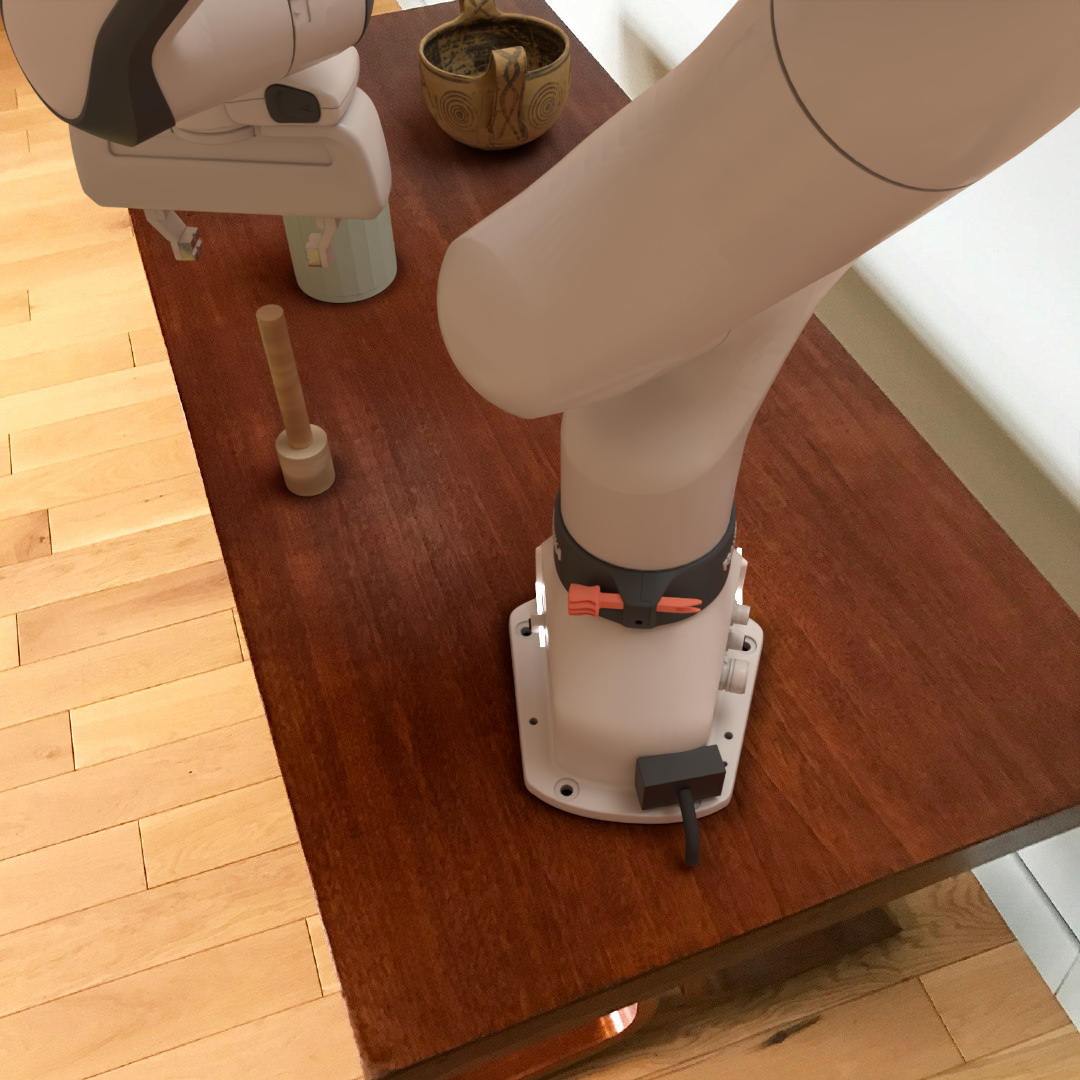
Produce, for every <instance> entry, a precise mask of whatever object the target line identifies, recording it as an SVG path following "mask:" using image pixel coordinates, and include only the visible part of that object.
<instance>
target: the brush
mask: <svg viewBox="0 0 1080 1080" xmlns="http://www.w3.org/2000/svg"><path fill="white" fill-rule="evenodd" d="M255 318H256V322H257V325H258V330H259V334H260V337H261V341H262V345H263V348H264V353H265V356H266V360H267V364H268V369H269V371H270V372H269V373H270V376H271V379H272V384H273V387H274V391H275V395H276V398H277V403H278V407H279V411H280V414H281V418H282V422H283V426H284V429H283V430H282V431H281V432H280V433H279V434H278V436H277V438H276V439H275V443H274V444H275V445H274V446H275V450H276V454H277V458H278V461H279V464H280V468H281V472H282V475H283V479H284V483H285V486H286V488H287V489H288V491H290V492H291V493H292V494H294V495H296V496H300V497H314V496H317V495H320V494H322V493H324V492H326V491H327V490H328V489H330V488H331V487H332V485H333V484H334V482H335V480H336V471H335V467H334V463H333V459H332V453H331V449H330V445H329V440H328V436H327V433H326V431H325V430H324V429H323V428H322V427H320V426H318V425H316V424H314V423H313V424H312V423H310V418H309V414H308V410H307V406H306V401H305V397H304V392H303V389H302V383H301V380H300V376H299V372H298V367H297V363H296V359H295V356H294V351H293V346H292V341H291V337H290V334H289V328H288V325H287V321H286V316H285V312H284V309H283V307H282V306H280V305H277V304H275V303H274V304H266V305H263V306H262V305H261V306H260V307H259V308H258V309H257V310H256V312H255Z"/></svg>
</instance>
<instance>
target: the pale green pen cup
mask: <svg viewBox="0 0 1080 1080" xmlns="http://www.w3.org/2000/svg"><path fill="white" fill-rule="evenodd" d="M281 217H282V221H283V225H284V226H283V227H284V230H285V234H286V239H287V244H288V250H289V253H290V254H289V255H290V258H291V263H292V267H293V271H294V276H295V279H296V283H297V286H298V287H299V289H301V291H302V292H303V293H304V294H306V295H307V296H309V297H310V298H312V299H315V300H317V301H321V302H325V303H333V304H348V303H355V302H360V301H363V300H367V299H369V298H372V297H375V296H376V295H378V294H380V293H381V292H383V291H384V290H386V289H387V288H388V287H389V286H390V285H391V284H392V283H393V282H394V280H395V278H396V275H397V271H398V267H397V256H396V250H395V249H396V248H395V241H394V233H393V232H394V231H393V226H392V218H391V210H390V204H389V200H388V201H387V203H386V205H385V207H384V208H383V210H382V211H381V212H380V214H379V215H378V216H377V217H376V218H375V219H372V220H363V219H344V218H341V220H340V223H339V226H338V228H337V231H336V233H335V235H334V237H333V239H332V242H333V247H334V259H333V262H332V265H331V268H323V267H310V266H309V265H308V259H309V258H308V257H307V256H306V251H305V246H306V244H307V242H308V241H309V239H308V238H309V236H310V234H311V233H322V232H323V230H324V228H318V227H317V226H316V222H315V217H303V216H282V215H281Z"/></svg>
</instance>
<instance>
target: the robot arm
mask: <svg viewBox="0 0 1080 1080" xmlns="http://www.w3.org/2000/svg"><path fill="white" fill-rule="evenodd" d="M374 3H375V0H0V16H1V21H2V25H3V28H4V31H5V34H6V37H7V41H8V43H9V46H10V48H11V51H12V53H13V55H14V57H15V60H16V61H17V64H18V67H19V68H20V70H21V72H22V74H23V75H24V77H25V79H26V81H27V83H28V84H29V85H30V87H31V88H32V90H33V91H34V93H35V94H36V96H37V97H38V99H39V100H40V101H41V102H42V104H43V105H44V106H45V107H46V108H47V109H48V110H49V111H50V112H51V114H53V115H54V116H55V117H57V118H58V119H59V120H61V121H62V122H64V123H66V124H68V133H69V141H70V146H71V152H72V156H73V161H74V164H75V165H74V166H75V170H76V173H77V177H78V179H79V184H80V187H81V189H82V191H83V193H84V194H85V195H86V197H88V198H89V199H90V200H91V201H93V203H95V204H96V205H97V206H99V207H102V208H118V209H139V210H141V209H142V210H143V213H144V217H145V220H146V221H147V222H148V223H149V224H150V225H151V226H152V227H153V228H154V229H155V230H156V231H157V232H158V233H159V234H160V235H161V236H162V237H163V238H164V239H165V240H166V241H168V242H169V243H170V246H171V249H172V253H173V255H174V258H175V259H174V260H176V261H186V262H187V261H188V262H198V261H199V260H200V256H201V255H202V254H203V250H204V246H203V245H204V244H203V241H202V240H201V238H200V236H201V233H200V230H199V227H197V226H187V225H186V224H185V223H184V221H183V220H182V219H181V218H180V216H178V214H177V213H176V212H175V211H181V212H199V213H200V212H201V213H203V212H204V213H221V214H241V215H242V214H243V215H244V214H245V215H261V216H262V215H264V216H281V217H282V216H303V217H315V222H316V226H317V227H318V228H324V230H323V232H322V233H311V234H310V236H309V238H308V239H309V241H308V242H307V244H306V246H305V251H306V256H307V257H308V258H309V259H308V265H309V266H310V267H323V268H331V265H332V262H333V259H334V247H333V242H332V239H333V237H334V235H335V233H336V231H337V228H338V226H339V223H340V220H341V218H344V219H363V220H372V219H375V218H376V217H377V216H378V215H379V214H380V212H381V211H382V210H383V208H384V207H385V205H386V203H387V201H388V202H389V197H390V194H391V190H392V184H393V183H392V182H393V176H392V167H391V161H390V156H389V151H388V147H387V143H386V138H385V135H384V130H383V126H382V123H381V119H380V116H379V113H378V111H377V107H376V106H375V104H374V102H373V100H372V99H371V98H370V96H369V95H368V94H367V92H365V91H364V90H363V89H361V88H360V87H359V86H358V83H359V78H360V71H361V61H360V55H359V52H358V50H357V48H356V47H355V46H356V45H358V43H360V42H361V40H362V39H363V37H364V35H365V33H366V31H367V29H368V26H369V24H370V20H371V19H372V18H371V17H372V13H373V11H374V10H373V9H374ZM1079 109H1080V0H737V1H736V3H734V5H733V6H732V7H731V8H730V9H729V10H728V12H727V13H726V14H724V16H723V17H722V19H721V20H720V21H719V22H718V23H717V24H716V26H715V27H714V28H713V29H712V30H711V32H710V33H708V35H707V36H706V37H705V38H704V39H703V40H702V42H701V43H700V44H699V45H698V46H697V47H696V48H694V49H693V50H692V52H690V53H689V54H688V55H687V56H686V57H685V58H683V60H681V62H680V63H679V64H677V65H676V66H675V67H674V68H673V69H671V70H669V72H668V73H666V75H663V77H661V78H660V79H658V80H657V81H656V82H655V83H654V84H652V85H651V86H649V87H648V88H647V89H646V90H644V91H643V92H641V94H639V95H638V96H637V97H635V98H634V99H632V100H631V101H630V102H628V104H626V105H625V106H624V107H622V108H621V109H620V110H618V111H617V112H616V113H615V114H614V115H612V116H611V117H610V118H608V119H607V120H606V121H605V122H603V124H602V125H600V126H599V127H598V128H597V129H595V130H594V131H592V133H590V134H589V135H588V136H587V137H586V138H584V139H583V140H582V141H581V142H580V143H578V144H577V145H576V146H575V147H574V148H573V149H572V150H570V151H569V152H568V153H567V154H566V155H564V157H562V159H560V160H559V161H558V162H556V164H554V165H553V166H552V167H551V168H550V169H548V170H547V171H546V172H544V173H543V174H542V175H540V177H539V178H537V179H536V180H535V181H533V183H531V184H530V185H529V186H527V187H526V188H525V189H524V190H523V191H521V192H519V194H517V195H515V196H514V197H513V198H511V199H510V200H509V201H507V202H505V203H504V204H503V205H501V206H500V207H498V208H497V209H496V210H495V211H493V212H491V213H490V214H489V215H487V216H486V217H484V218H483V219H482V220H480V221H478V222H477V223H476V224H474V225H473V226H471V227H470V228H469V229H468V230H466V231H465V232H463V233H462V234H461V235H459V236H458V237H456V238H454V240H453V241H451V243H450V244H449V245H448V247H447V249H446V251H445V253H444V256H443V260H442V263H441V266H440V270H439V276H438V280H437V287H436V311H437V312H436V313H437V320H438V327H439V330H440V334H441V337H442V340H443V342H444V346H445V349H446V351H447V353H448V355H449V357H450V359H451V360H452V362H453V364H454V366H455V368H456V370H457V371H458V373H459V374H460V375H461V377H462V378H463V379H464V380H465V381H466V382H467V383H468V385H470V387H471V388H472V389H473V390H474V391H475V392H476V393H477V394H479V395H480V396H481V397H482V398H483V399H485V400H486V401H487V402H489V403H490V404H492V405H493V406H495V407H496V408H498V409H500V410H502V411H504V412H506V413H508V414H510V415H513V416H515V417H517V418H520V419H524V420H534V419H539V418H543V417H548V416H552V415H557V414H561V413H562V416H561V421H560V485H559V487H558V489H557V492H556V495H555V498H554V499H555V500H554V508H553V509H552V519H551V520H552V522H551V523H552V524H551V525H552V526H551V529H552V530H551V532H552V533H551V535H550V536H549V537H548V538H547V539H545V540H544V541H542V542H541V543H540V545H539V546H537V547H536V548H535V593H536V597H534V598H533V599H531V600H528V601H526V602H524V603H522V604H520V605H518V606H517V607H515V609H513V610H512V611H511V613H510V615H509V620H508V634H509V635H508V636H509V645H510V654H511V667H512V676H513V683H514V696H515V704H516V716H517V725H518V734H519V735H518V737H519V745H520V755H521V765H522V774H523V781H524V785H525V787H526V789H527V790H528V792H529V793H530V794H532V795H534V796H535V797H536V798H537V799H539V800H540V801H542V802H544V803H546V804H548V805H550V806H552V807H554V808H556V809H558V810H562V811H563V812H567V813H569V814H572V815H577V816H579V817H584V818H589V819H594V820H599V821H605V822H606V821H607V822H614V823H615V822H616V823H622V824H623V823H624V824H644V825H646V824H647V825H655V824H656V825H657V824H658V825H660V824H661V825H662V824H674V823H675V824H676V823H682V824H683V830H684V840H685V853H684V863H685V864H686V865H687V866H690V867H696V866H697V865H699V862H700V850H701V840H700V839H701V837H700V829H699V823H698V819H701V818H704V817H706V816H707V817H708V816H710V815H713V814H714V813H717V812H719V811H720V810H722V809H725V808H726V807H727V806H728V805H729V804H730V803H731V800H732V797H733V794H734V793H733V792H734V789H735V783H736V779H737V775H738V774H737V773H738V769H739V765H740V759H741V758H740V757H741V754H742V750H743V744H744V739H745V734H746V730H747V725H748V720H749V715H750V710H751V705H752V700H753V696H754V691H755V687H756V686H755V685H756V680H757V676H758V670H759V667H760V661H761V655H762V652H763V647H764V631H763V629H762V627H761V626H760V624H758V623H757V622H756V621H755V620H753V619H752V618H750V614H751V606H750V605H747V604H743V589H744V585H745V584H744V583H745V578H746V574H747V569H748V565H749V564H748V563H749V562H748V560H746V559H745V558H744V557H743V554H742V548H741V547H737V548H735V545H736V538H737V528H738V527H737V526H738V525H737V507H736V502H735V498H734V497H735V491H736V487H737V481H738V477H739V473H740V468H741V464H742V459H743V453H744V449H745V446H746V442H747V439H748V435H749V433H750V431H751V429H752V425H753V423H754V420H755V419H756V416H757V415H758V412H759V410H760V408H761V407H762V404H763V402H764V401H765V399H766V396H767V395H768V393H769V391H770V389H771V388H772V386H773V384H774V382H775V380H776V378H777V376H778V375H779V372H780V371H781V369H782V367H783V365H784V363H785V362H786V360H787V358H788V356H789V354H790V353H791V351H792V349H793V347H794V346H795V344H796V342H797V340H798V339H799V337H800V335H801V334H802V332H803V330H804V329H805V327H806V325H807V324H808V322H809V320H810V319H811V317H812V316H813V314H814V313H815V312H816V311H817V308H818V307H819V306H820V304H821V303H822V302H823V300H824V299H826V298H825V297H826V296H828V294H829V293H830V291H831V290H832V288H833V287H834V286H835V285H836V284H837V283H838V282H839V280H841V278H842V277H844V275H845V274H846V272H847V271H848V270H849V269H851V267H852V266H853V265H854V264H855V263H856V262H857V261H858V259H860V258H861V256H863V255H865V254H866V253H868V252H870V251H871V250H872V249H874V248H875V247H877V246H879V245H880V244H882V243H883V242H885V241H886V240H888V239H890V238H891V237H893V236H894V235H896V234H897V233H899V232H901V231H903V230H904V229H906V228H907V227H909V226H911V225H912V224H913V223H915V222H917V221H918V220H919V219H921V218H922V217H924V216H926V215H928V214H929V213H930V212H932V211H934V210H935V209H937V208H938V207H940V206H941V205H943V204H945V203H946V202H947V201H949V200H951V199H952V198H954V197H955V196H957V195H958V194H960V193H962V192H963V191H965V190H966V189H968V188H970V187H971V186H972V185H974V184H975V183H977V182H979V181H981V180H982V179H985V178H986V177H987V176H989V175H990V174H992V173H993V172H995V171H996V170H998V169H999V168H1001V167H1002V166H1003V165H1005V164H1007V163H1008V162H1009V161H1011V160H1012V159H1014V158H1016V157H1017V156H1018V155H1020V154H1021V153H1022V152H1023V151H1025V150H1027V149H1028V148H1029V147H1031V146H1032V145H1033V144H1035V143H1036V142H1038V140H1040V139H1041V138H1043V137H1044V136H1045V135H1047V134H1048V133H1049V132H1050V131H1052V130H1053V129H1055V128H1056V127H1057V126H1059V125H1060V124H1061V123H1063V122H1064V121H1065V120H1067V119H1068V118H1069V117H1070V116H1071V115H1072V114H1074V113H1075V112H1076V111H1077V110H1079ZM523 634H530V635H523ZM743 648H744V649H747V651H745V650H743ZM564 791H570V792H571V794H570V795H564V794H562V793H563V792H564Z"/></svg>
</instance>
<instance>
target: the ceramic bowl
mask: <svg viewBox="0 0 1080 1080" xmlns="http://www.w3.org/2000/svg"><path fill="white" fill-rule="evenodd" d="M458 4H459V12H460V14H459V15H458V16H457V17H455V18H454V19H452V20H450V21H447V22H444V23H442V24H440V25H439V26H437V27H435V28H433V29H431V30H430V31H429V32H428V33H427V34H425V36H423V37H422V39H421V41H420V43H419V46H418V69H419V70H418V71H419V79H420V80H419V81H420V85H421V90H422V95H423V97H424V100H425V104H426V106H427V108H428V110H429V112H430V114H431V116H432V117H433V120H435V122H436V123H437V125H438V126H439V127H440V129H442V130H443V131H444V132H445V134H447V135H449V137H451V138H452V139H453V140H455V141H457V142H458V143H461V144H463V145H465V146H468V147H469V148H472V149H473V148H474V149H478V150H483V151H502V150H504V151H505V150H511V149H515V148H518V147H522V146H523V145H526V144H528V143H531V142H532V141H534V140H536V139H538V138H540V137H541V136H543V135H544V134H545V133H546V132H547V131H548V130H550V128H551V127H553V126H554V124H555V123H556V122H557V121H558V120H559V118H560V116H561V115H562V113H563V111H564V108H565V106H566V103H567V100H568V97H569V95H570V89H571V81H572V53H571V46H570V38H569V36H568V34H567V33H566V32H565V31H564V30H563V29H562V28H561V27H560V26H558V25H557V24H555V23H553V22H550V21H549V20H546V19H543V18H541V17H538V16H534V15H528V14H524V13H516V12H515V13H514V12H503V11H502V10H500V9H499V8H498V7H497V5H496V1H495V0H458Z"/></svg>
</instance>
